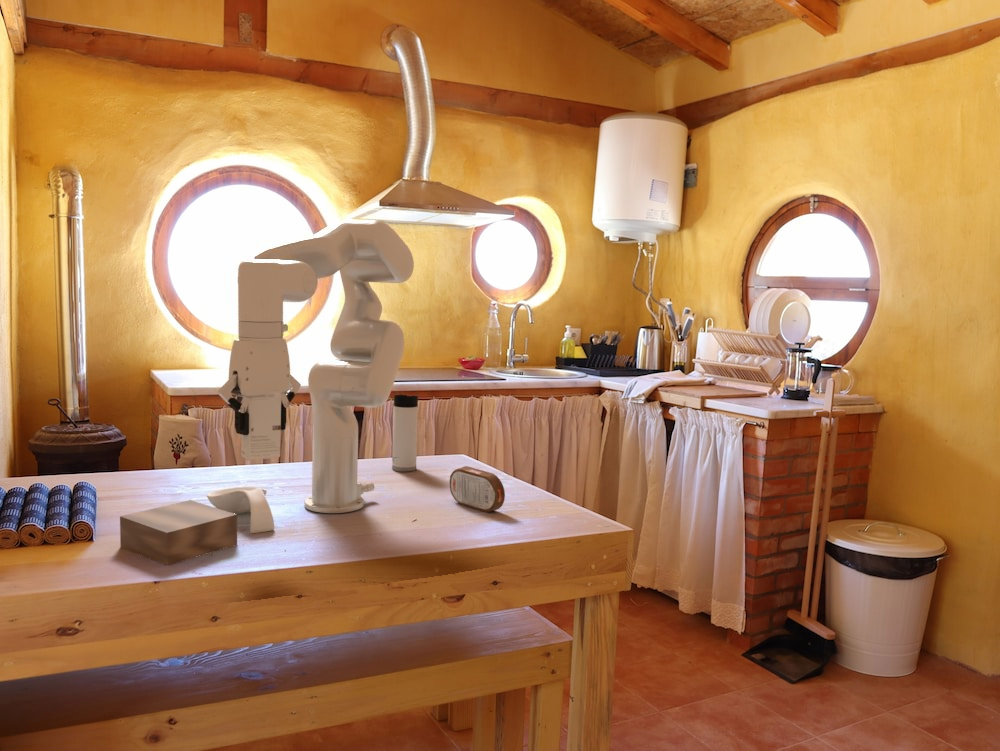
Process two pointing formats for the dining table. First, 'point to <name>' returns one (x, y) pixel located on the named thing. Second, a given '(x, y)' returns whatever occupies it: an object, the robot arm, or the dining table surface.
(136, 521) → the walnut block
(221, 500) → the spoon rest
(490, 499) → the tin
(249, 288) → the robot arm
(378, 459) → the dining table surface
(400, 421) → the travel mug
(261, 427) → the skincare box
